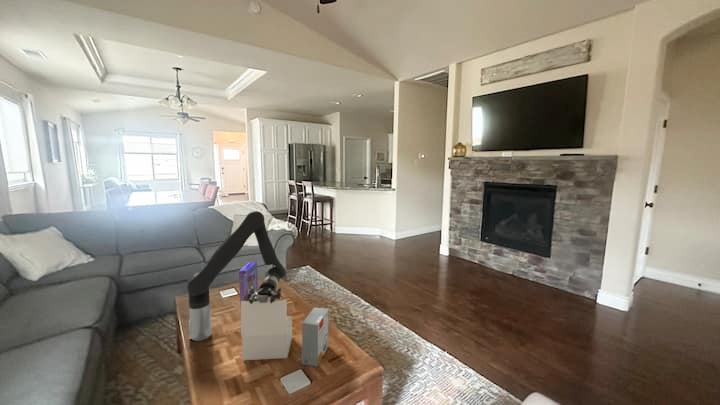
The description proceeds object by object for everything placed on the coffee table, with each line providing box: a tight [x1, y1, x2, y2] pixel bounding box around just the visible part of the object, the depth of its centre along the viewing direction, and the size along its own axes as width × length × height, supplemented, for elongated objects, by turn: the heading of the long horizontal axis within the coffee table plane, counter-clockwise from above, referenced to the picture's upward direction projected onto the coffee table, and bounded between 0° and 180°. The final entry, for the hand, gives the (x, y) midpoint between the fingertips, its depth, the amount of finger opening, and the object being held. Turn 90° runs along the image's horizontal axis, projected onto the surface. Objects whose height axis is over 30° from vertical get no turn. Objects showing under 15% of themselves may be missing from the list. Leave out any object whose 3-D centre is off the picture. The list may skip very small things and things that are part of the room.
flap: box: [240, 295, 288, 338], centre depth 129 cm, size 20×19×4 cm
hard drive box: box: [301, 307, 329, 368], centre depth 135 cm, size 16×8×20 cm, turn 168°
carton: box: [241, 315, 293, 361], centre depth 140 cm, size 20×16×12 cm
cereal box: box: [238, 260, 259, 308], centre depth 187 cm, size 17×5×24 cm, turn 179°
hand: (261, 301), depth 125 cm, fingers open, 8 cm apart
